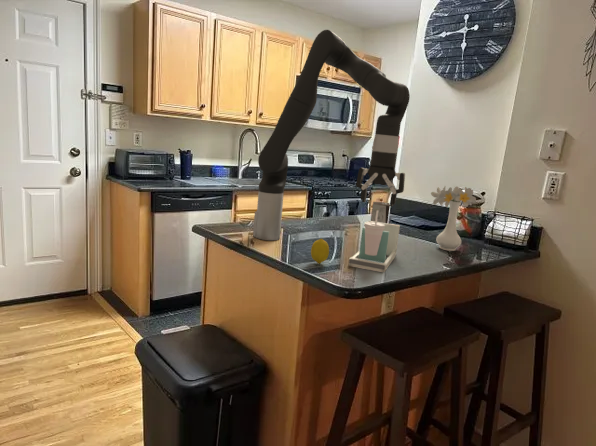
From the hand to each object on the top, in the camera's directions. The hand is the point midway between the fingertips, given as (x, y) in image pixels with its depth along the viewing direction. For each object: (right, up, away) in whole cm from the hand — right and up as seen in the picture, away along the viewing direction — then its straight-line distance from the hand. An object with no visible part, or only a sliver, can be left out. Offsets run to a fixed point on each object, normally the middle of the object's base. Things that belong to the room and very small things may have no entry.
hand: (377, 204), depth 132 cm
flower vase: (+34, -16, +37) cm, 53 cm away
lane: (+1, -18, +10) cm, 21 cm away
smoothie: (-2, -16, +3) cm, 16 cm away
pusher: (-1, -18, +6) cm, 19 cm away
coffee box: (+6, -14, +34) cm, 37 cm away
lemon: (-18, -19, 0) cm, 26 cm away
